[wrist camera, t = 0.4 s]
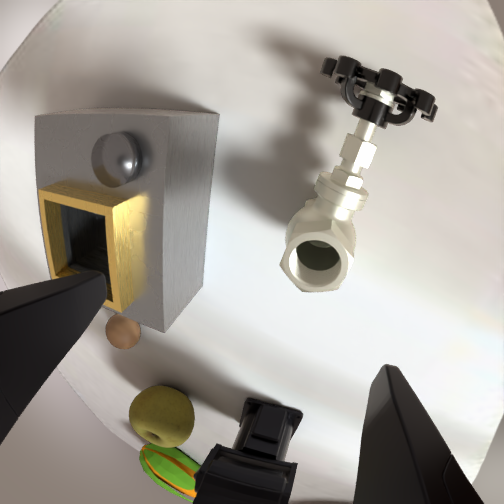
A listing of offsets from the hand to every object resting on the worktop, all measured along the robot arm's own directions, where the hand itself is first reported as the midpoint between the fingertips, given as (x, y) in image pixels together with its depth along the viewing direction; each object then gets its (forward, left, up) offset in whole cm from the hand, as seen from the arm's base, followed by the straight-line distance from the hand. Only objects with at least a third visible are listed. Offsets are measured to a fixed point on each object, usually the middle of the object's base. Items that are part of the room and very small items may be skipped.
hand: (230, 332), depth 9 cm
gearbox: (-2, +13, -14) cm, 19 cm away
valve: (+3, -2, -14) cm, 15 cm away
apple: (-27, +10, -14) cm, 32 cm away
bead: (-17, +15, -14) cm, 26 cm away
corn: (-50, +7, -14) cm, 52 cm away
